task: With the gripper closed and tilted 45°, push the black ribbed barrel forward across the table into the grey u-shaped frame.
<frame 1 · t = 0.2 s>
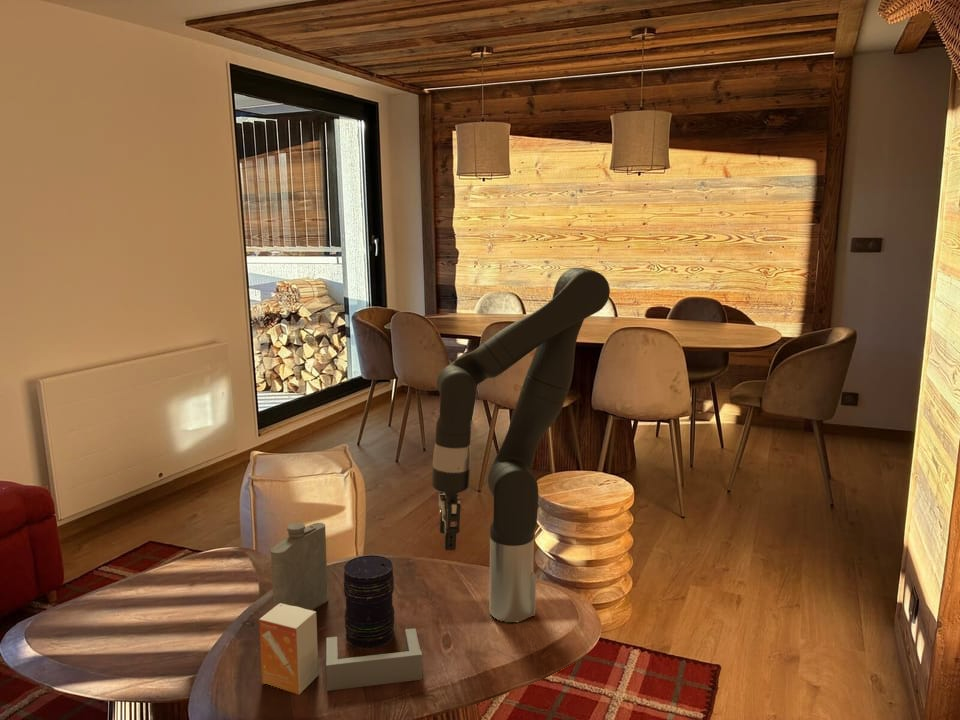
hand: (447, 540, 150), 18 cm above the table, tool pointing down, fingers open, 8 cm apart
grey u-shaped frame: (373, 663, 137), on the table
small box: (290, 681, 132), on the table
hip flask: (300, 614, 155), on the table
black ribbed barrel: (370, 635, 147), on the table
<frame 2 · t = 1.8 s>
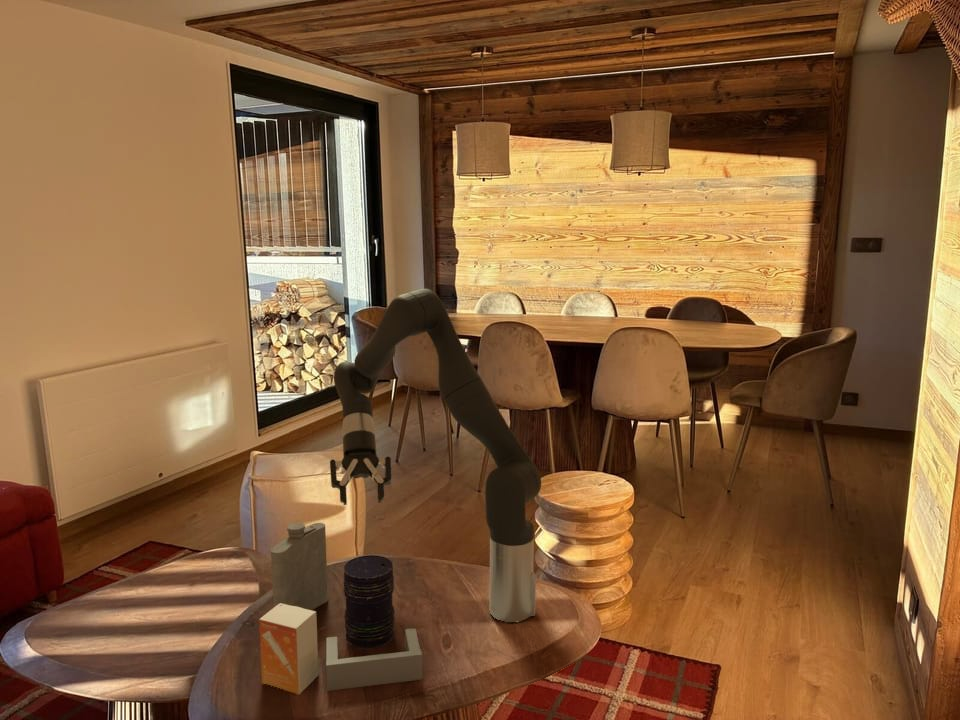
hand: (362, 502, 162), 21 cm above the table, tool tilted 45°, fingers open, 7 cm apart
nothing on the table moved.
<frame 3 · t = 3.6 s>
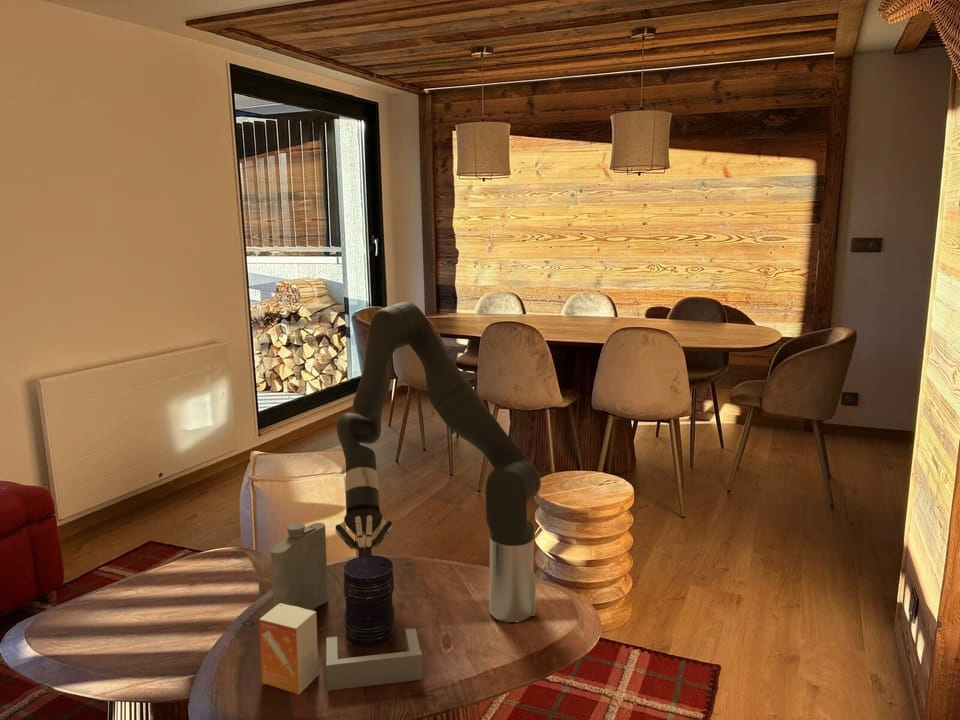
hand: (365, 566, 157), 9 cm above the table, tool tilted 45°, fingers closed
nothing on the table moved.
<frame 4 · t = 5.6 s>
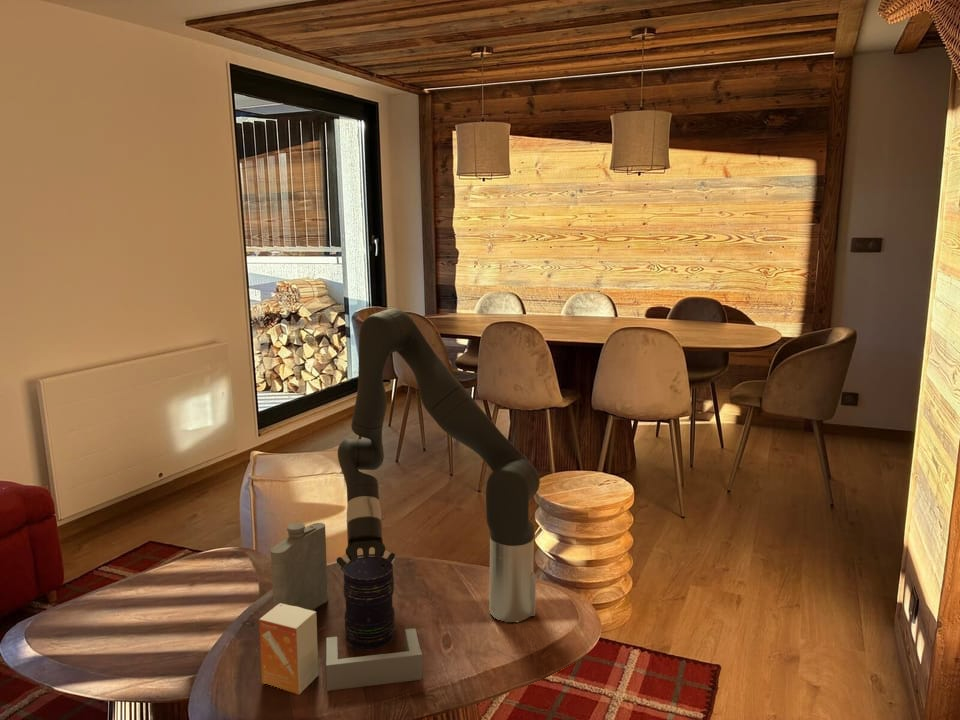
hand: (368, 600, 151), 5 cm above the table, tool tilted 45°, fingers closed
black ribbed barrel: (370, 637, 146), on the table, touching gripper
everything else where it was.
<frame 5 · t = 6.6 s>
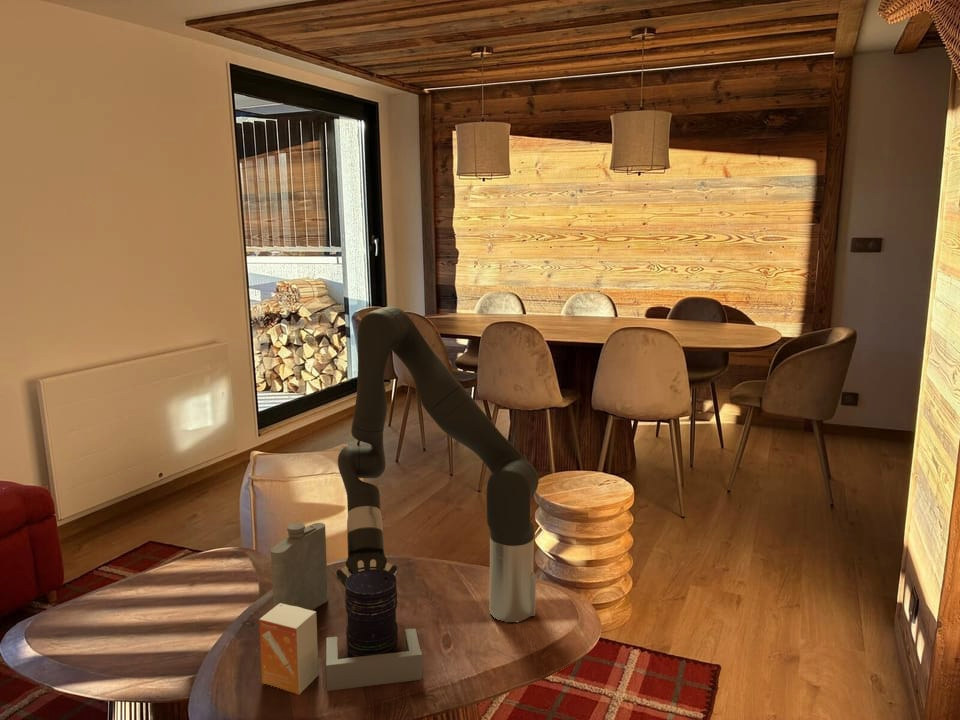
hand: (368, 615, 145), 5 cm above the table, tool tilted 45°, fingers closed
black ribbed barrel: (372, 653, 141), on the table, touching gripper
everything else where it was.
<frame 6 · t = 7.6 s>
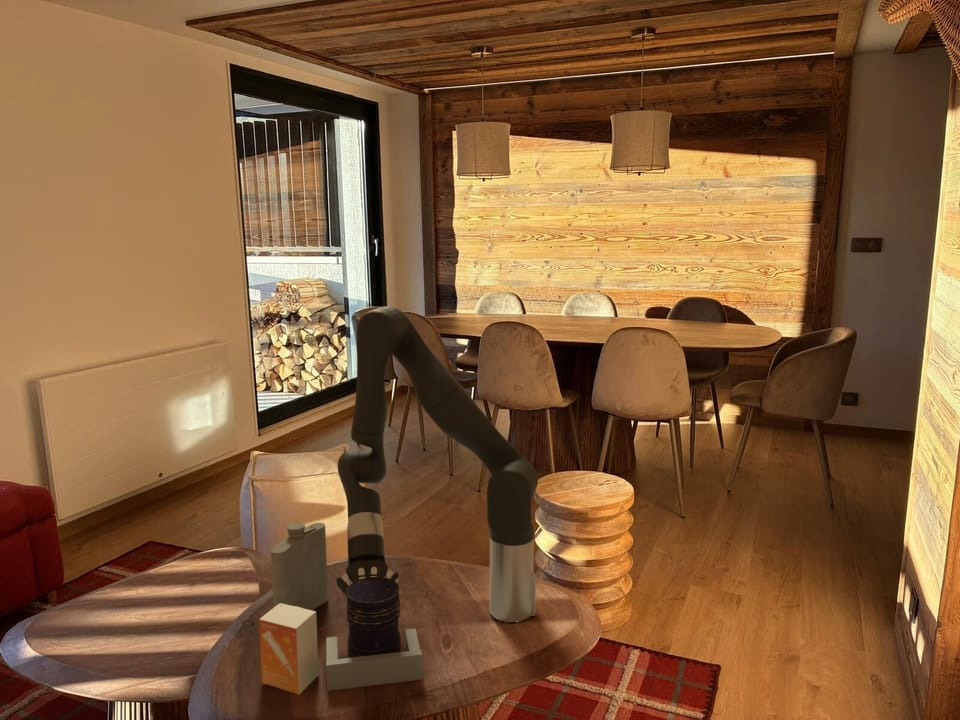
hand: (369, 624, 142), 5 cm above the table, tool tilted 45°, fingers closed
black ribbed barrel: (374, 663, 138), on the table, touching gripper
everything else where it was.
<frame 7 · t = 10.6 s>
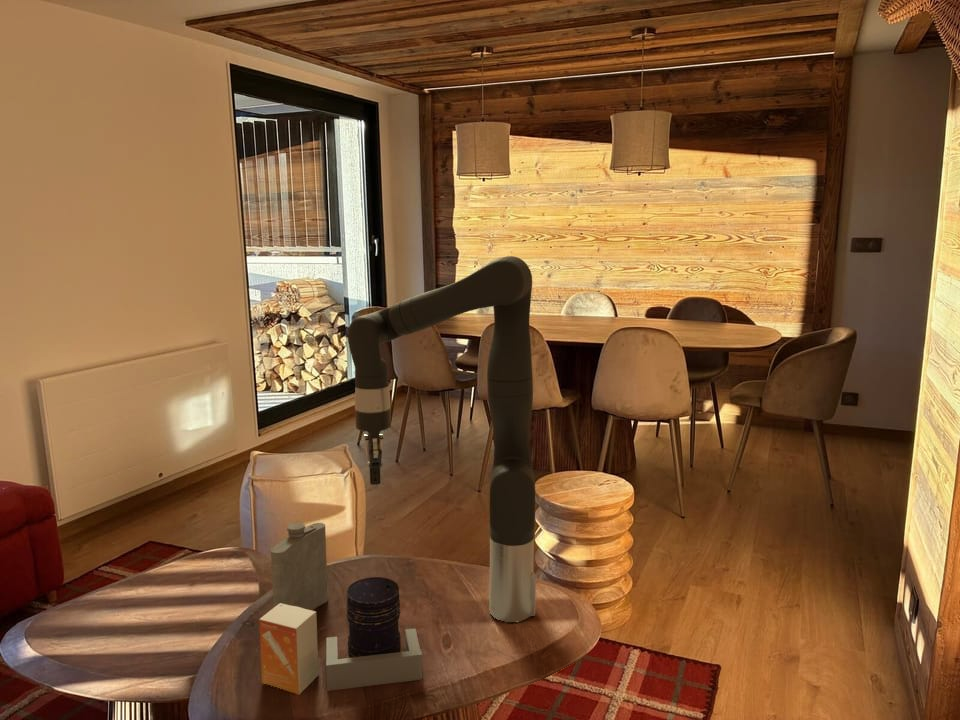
hand: (375, 483, 159), 26 cm above the table, tool pointing down, fingers closed
black ribbed barrel: (374, 663, 138), on the table
everything else where it was.
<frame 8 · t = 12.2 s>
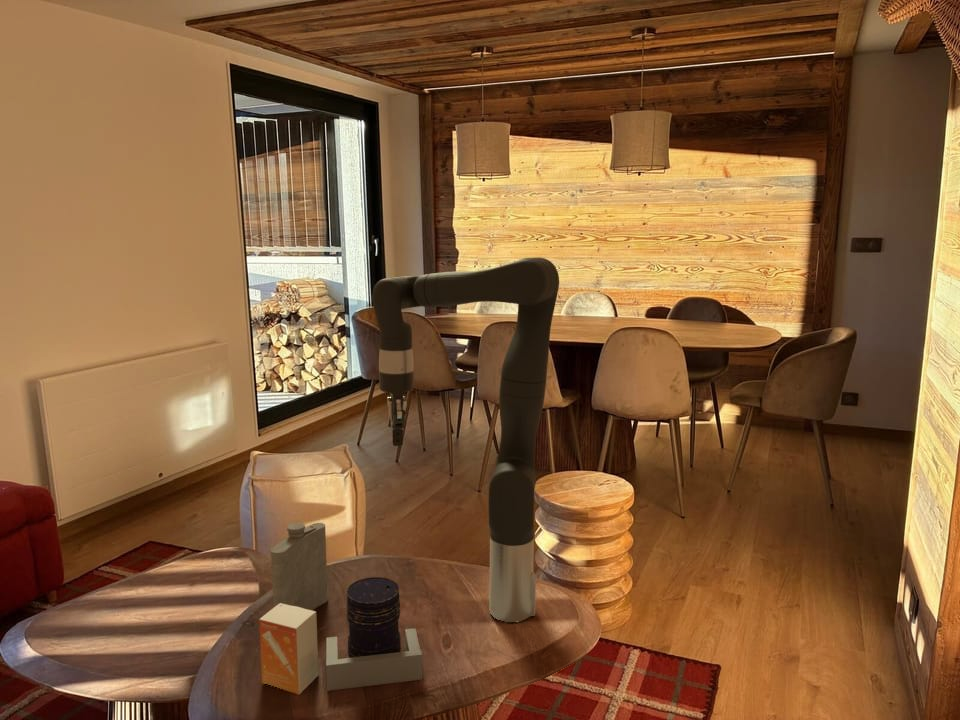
hand: (397, 444, 163), 33 cm above the table, tool pointing down, fingers closed
nothing on the table moved.
at the end: black ribbed barrel inside the target area on the grey u-shaped frame (0.9 cm from its centre), point 0.0 cm above the grey u-shaped frame's base; black ribbed barrel tilted 0° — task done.
